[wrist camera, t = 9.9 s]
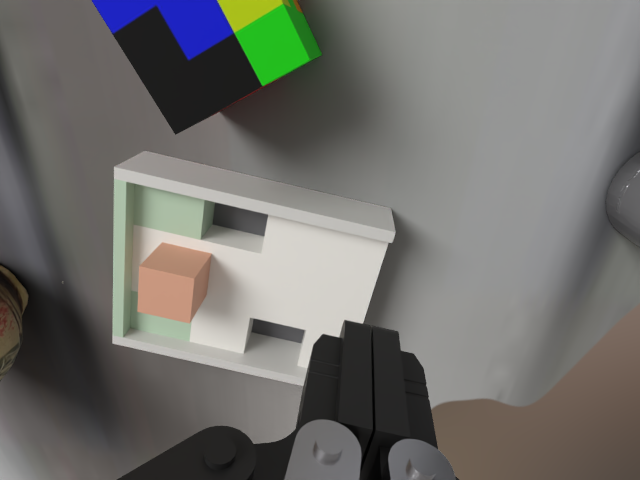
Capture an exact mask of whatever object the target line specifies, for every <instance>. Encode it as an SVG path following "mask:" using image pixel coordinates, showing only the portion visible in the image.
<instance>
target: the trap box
mask: <svg viewBox="0 0 640 480" xmlns="http://www.w3.org/2000/svg"><path fill="white" fill-rule="evenodd" d="M395 233H396V231H395V226H394V221H393V216H392V211H391V208H388V207H384V206H379V205H375V204H371V203H367V202H362V201H358V200H354V199H349V198H345V197H341V196H337V195H332V194H328V193H324V192H319V191H315V190H311V189H307V188H302V187H298V186H294V185H289V184H285V183H281V182H277V181H272V180H268V179H264V178H259V177H255V176H251V175H247V174H242V173H238V172H234V171H229V170H225V169H221V168H217V167H212V166H208V165H204V164H199V163H195V162H191V161H187V160H182V159H178V158H174V157H169V156H165V155H161V154H157V153H152V152H148V151H144V152H142V153H140V154H138V155H136V156H134V157H132V158H130V159H128V160H127V161H125V162H123V163H121V164H119V165H117V166H115V167H114V244H113V344H117V345H122V346H126V347H131V348H135V349H140V350H144V351H149V352H153V353H158V354H162V355H166V356H171V357H175V358H180V359H184V360H189V361H193V362H198V363H202V364H207V365H211V366H216V367H220V368H224V369H229V370H233V371H238V372H242V373H247V374H251V375H256V376H260V377H265V378H269V379H274V380H278V381H282V382H287V383H291V384H296V385H300V386H303V385H304V381H305V377H306V373H307V369H308V364H309V360H310V356H311V352H312V348H313V344H314V343H315V342H316V341H317V340H318V339H319V338H320V336H321V335H322V334H326V335H331V336H335V337H339V336H340V332H341V329H342V325H343V322H344V320H348V321H353V322H357V323H362V324H363V322H364V319H365V315H366V312H367V309H368V306H369V303H370V300H371V297H372V293H373V290H374V287H375V284H376V281H377V278H378V275H379V271H380V268H381V265H382V262H383V259H384V256H385V253H386V250H387V246H388V243H392V242H393V239H394V236H395ZM162 242H164V243H168V244H172V245H177V246H181V247H185V248H190V249H194V250H199V251H203V252H207V253H212V255H211V263H210V271H209V280H208V288H207V295H206V297H205V299H204V300H203V302H202V304H201V306H200V307H199V309H198V311H197V312H196V314H195V316H194V317H193V319H192V321H191V322H190V324H189V323H185V322H181V321H176V320H172V319H167V318H163V317H158V316H154V315H149V314H145V313H141V312H137V310H138V283H139V266H140V265H141V264H142V263H143V262H144V261H145V260H146V259H147V257H148V256H149V255H150V254H151V253H152V252H153V251H154V250H155V249H156V248H157V247H158V246H159V245H160V244H161V243H162Z"/></svg>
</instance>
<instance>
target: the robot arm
mask: <svg viewBox="0 0 640 480" xmlns="http://www.w3.org/2000/svg"><path fill="white" fill-rule="evenodd" d="M606 212H607V215H608V218H609V221H610V222H611V224H612V225H613V227H614V228H615V229H616V230H617V231H619V232H620V233H621V234H622V235H624V236H625V237H626V238H628V239H629V240H630V241H632V242H633V243H634V244H636V245H637V246H638V247H640V152H639V153H637V154H636V155H635V156H633V157H632V158H631V159H629V160H628V161H627V162H626V163H625V164H624V165H623V166H622V168H621V169H620V170H619V171H618V172H617V174H616V176H615V177H614V179H613V180H612V182H611V185H610V187H609V189H608V193H607V198H606ZM428 397H429V396H428V391H427V387H426V379H425V374H424V368H423V367H422V365H421V364H420V362H419V361H418V359H417V358H416V356H415V355H414V354H413V353H408V352H404V351H401V349H400V341H399V333H398V331H394V330H389V329H385V328H380V327H376V326H370V325H366V324H362V323H357V322H353V321H348V320H344V322H343V325H342V329H341V332H340V336H339V337H335V336H331V335H326V334H322V335H321V336H320V338H319V339H318V340H317V341H316V342H315V343H314V344H313V348H312V352H311V356H310V360H309V364H308V369H307V373H306V377H305V381H304V385H303V391H302V396H301V402H300V408H299V414H298V419H297V424H296V429H295V430H294V431H293V432H292V433H291V434H290V435H289V436H287V437H286V438H284V439H282V440H279V441H276V442H271V443H261V444H253V443H252V441H251V440H250V438H249V437H248V436H247V435H246V434H245V433H243V432H241V431H240V430H238V429H235V428H232V427H228V426H214V427H209V428H206V429H204V430H202V431H200V432H198V433H196V434H194V435H193V436H191V437H189V438H188V439H186V440H184V441H182V442H181V443H179V444H177V445H176V446H174V447H172V448H170V449H169V450H167V451H165V452H164V453H162V454H160V455H158V456H157V457H155V458H153V459H152V460H150V461H148V462H146V463H145V464H143V465H141V466H140V467H138V468H136V469H134V470H133V471H131V472H129V473H128V474H126V475H124V476H122V477H121V478H119V479H117V480H459V479H458V478H457V477H456V476H455V474H454V471H453V468H452V466H451V464H450V463H449V461H448V460H447V458H446V457H445V456H444V455H443V454H442V453H441V452H440V451H439V450H438V447H437V441H436V436H435V431H434V425H433V419H432V413H431V407H430V402H429V400H428Z"/></svg>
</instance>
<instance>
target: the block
mask: <svg viewBox="0 0 640 480" xmlns="http://www.w3.org/2000/svg"><path fill="white" fill-rule="evenodd" d="M211 255H212V253H207V252H203V251H199V250H194V249H190V248H185V247H181V246H177V245H172V244H168V243H164V242H162V243H161V244H160V245H159V246H158V247H157V248H156V249H155V250H154V251H153V252H152V253H151V254H150V255H149V256H148V257H147V259H146V260H145V261H144V262H143V263H142V264H141V265H140V266H139V283H138V310H137V312H141V313H145V314H149V315H154V316H158V317H163V318H167V319H172V320H176V321H181V322H185V323H189V324H190V322H191V321H192V319H193V317H194V316H195V314H196V312H197V311H198V309H199V307H200V306H201V304H202V302H203V300H204V299H205V297H206V295H207V288H208V280H209V271H210V263H211Z"/></svg>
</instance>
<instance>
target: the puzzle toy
mask: <svg viewBox="0 0 640 480" xmlns="http://www.w3.org/2000/svg"><path fill="white" fill-rule="evenodd" d="M92 2H93V4H94V5H95V7H96V8H97V10H98V11H99V13H100V15H101V16H102V18H103V19H104V21H105V23H106V24H107V26H108V27H109V29H110V31H111V32H112V34H113V35H114V37H115V39H116V40H117V42H118V43H119V45H120V47H121V48H122V50H123V51H124V53H125V55H126V56H127V58H128V59H129V61H130V63H131V64H132V66H133V67H134V69H135V71H136V72H137V74H138V75H139V77H140V79H141V80H142V82H143V83H144V85H145V87H146V88H147V90H148V91H149V93H150V95H151V96H152V98H153V99H154V101H155V103H156V104H157V106H158V107H159V109H160V111H161V112H162V114H163V115H164V117H165V119H166V120H167V122H168V123H169V125H170V127H171V128H172V130H173V131H174V133H175V135H176V134H177V133H179V132H181V131H183V130H185V129H187V128H189V127H191V126H193V125H195V124H197V123H199V122H201V121H202V120H204V119H206V118H208V117H210V116H212V115H214V114H216V113H218V112H220V111H222V110H223V109H225V108H227V107H229V106H231V105H232V104H234V103H236V102H238V101H240V100H241V99H243V98H245V97H247V96H249V95H250V94H252V93H254V92H256V91H258V90H260V89H261V88H263V87H265V86H267V85H269V84H270V83H272V82H274V81H276V80H278V79H279V78H281V77H283V76H285V75H287V74H288V73H290V72H292V71H294V70H296V69H297V68H299V67H301V66H303V65H305V64H307V63H308V62H310V61H312V60H314V59H316V58H317V57H319V56H321V55H322V53H321V51H320V49H319V47H318V45H317V42H316V40H315V38H314V36H313V34H312V32H311V29H310V27H309V25H308V23H307V21H306V19H305V17H304V14H303V12H302V10H301V8H300V6H299V4H298V2H297V0H92Z"/></svg>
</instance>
